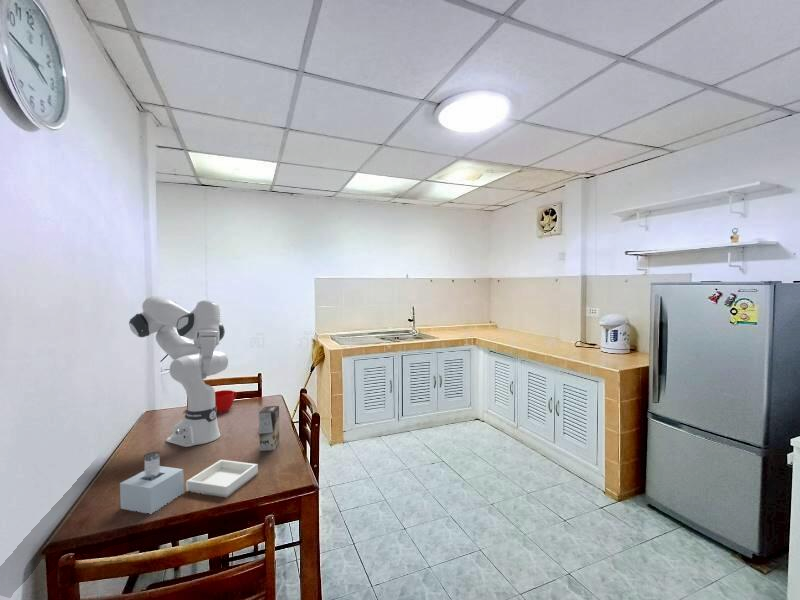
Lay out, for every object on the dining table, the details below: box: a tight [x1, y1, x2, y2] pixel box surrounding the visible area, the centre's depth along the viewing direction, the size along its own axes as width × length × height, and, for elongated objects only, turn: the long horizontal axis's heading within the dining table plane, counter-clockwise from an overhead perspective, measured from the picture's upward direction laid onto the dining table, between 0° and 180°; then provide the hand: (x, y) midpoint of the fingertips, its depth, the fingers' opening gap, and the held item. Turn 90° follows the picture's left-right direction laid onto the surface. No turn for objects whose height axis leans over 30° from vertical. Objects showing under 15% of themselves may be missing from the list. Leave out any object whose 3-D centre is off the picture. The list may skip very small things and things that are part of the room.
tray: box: [185, 459, 259, 498], centre depth 130 cm, size 16×16×4 cm
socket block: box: [119, 465, 185, 515], centre depth 119 cm, size 12×12×8 cm
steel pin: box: [143, 451, 161, 481], centre depth 119 cm, size 4×4×10 cm
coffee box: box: [258, 405, 281, 452], centre depth 159 cm, size 9×6×16 cm
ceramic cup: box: [215, 389, 238, 414], centre depth 208 cm, size 13×17×10 cm
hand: (204, 374), depth 138 cm, fingers open, 8 cm apart
